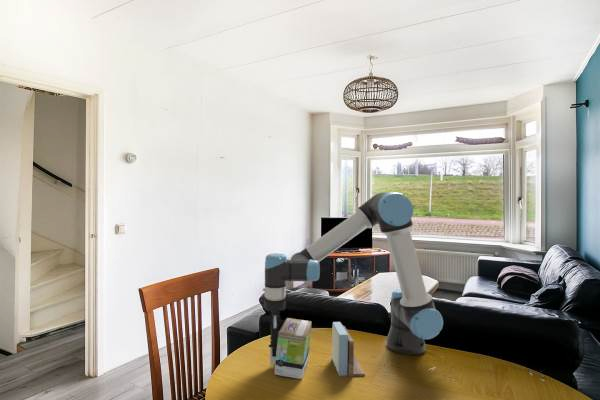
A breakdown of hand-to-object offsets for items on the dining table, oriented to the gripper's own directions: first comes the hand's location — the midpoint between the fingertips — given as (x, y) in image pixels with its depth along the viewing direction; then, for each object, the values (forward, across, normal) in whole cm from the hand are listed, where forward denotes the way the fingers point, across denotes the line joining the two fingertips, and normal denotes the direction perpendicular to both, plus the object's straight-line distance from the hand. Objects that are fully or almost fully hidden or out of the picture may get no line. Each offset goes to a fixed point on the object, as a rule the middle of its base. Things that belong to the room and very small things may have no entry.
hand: (273, 363), depth 121 cm
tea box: (+1, 0, +7) cm, 7 cm away
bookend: (+1, +1, +28) cm, 28 cm away
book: (+1, +1, +24) cm, 24 cm away
